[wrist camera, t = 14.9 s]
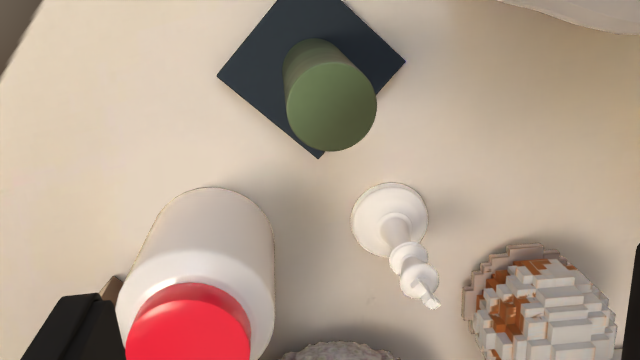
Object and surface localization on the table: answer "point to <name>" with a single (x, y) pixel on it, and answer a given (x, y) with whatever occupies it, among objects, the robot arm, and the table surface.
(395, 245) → the chess piece
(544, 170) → the table surface
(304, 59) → the green cylinder
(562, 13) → the cup
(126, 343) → the pill bottle
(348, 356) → the sea urchin shell
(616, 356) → the mug
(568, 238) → the table surface
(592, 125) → the table surface
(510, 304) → the decorative ornament
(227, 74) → the coaster
